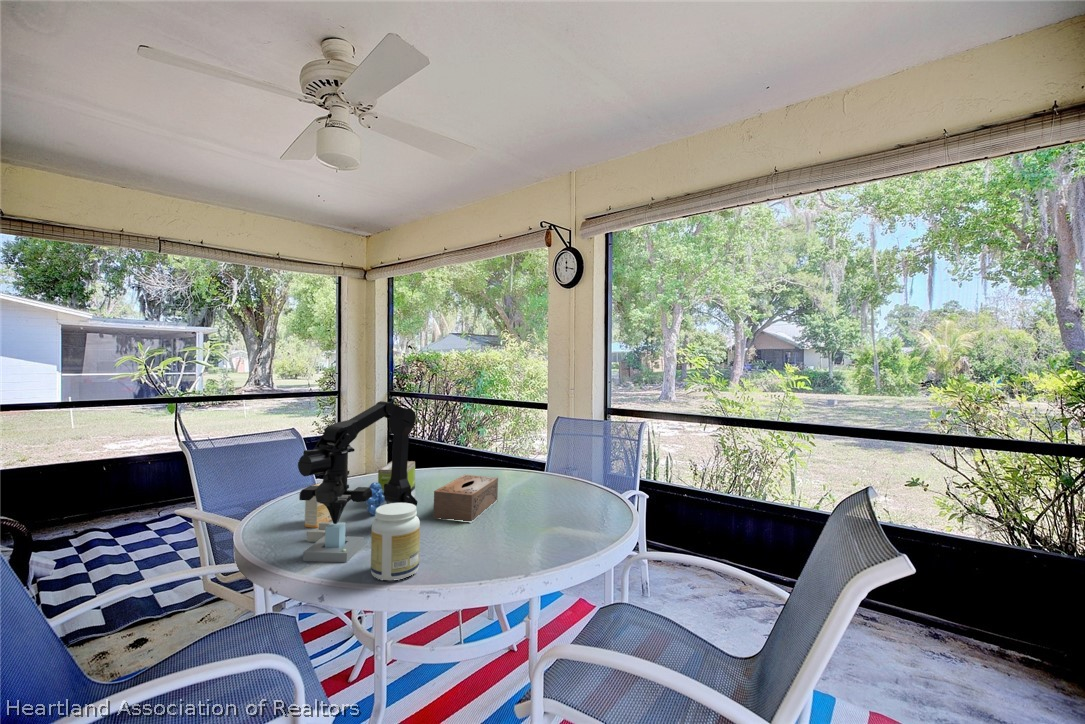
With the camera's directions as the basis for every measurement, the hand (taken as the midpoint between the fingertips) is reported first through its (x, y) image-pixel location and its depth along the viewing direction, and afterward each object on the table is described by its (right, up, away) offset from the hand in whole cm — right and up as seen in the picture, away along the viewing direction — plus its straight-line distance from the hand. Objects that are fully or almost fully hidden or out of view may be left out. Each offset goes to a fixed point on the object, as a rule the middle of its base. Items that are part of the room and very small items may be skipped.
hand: (335, 523), depth 135 cm
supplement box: (-16, -8, +23) cm, 29 cm away
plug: (0, -9, 0) cm, 8 cm away
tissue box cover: (+31, -10, +42) cm, 53 cm away
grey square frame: (-8, -8, +12) cm, 17 cm away
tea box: (+3, -9, +49) cm, 50 cm away
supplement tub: (+21, -9, -11) cm, 25 cm away
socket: (0, -8, 0) cm, 8 cm away
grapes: (0, -9, +33) cm, 34 cm away
